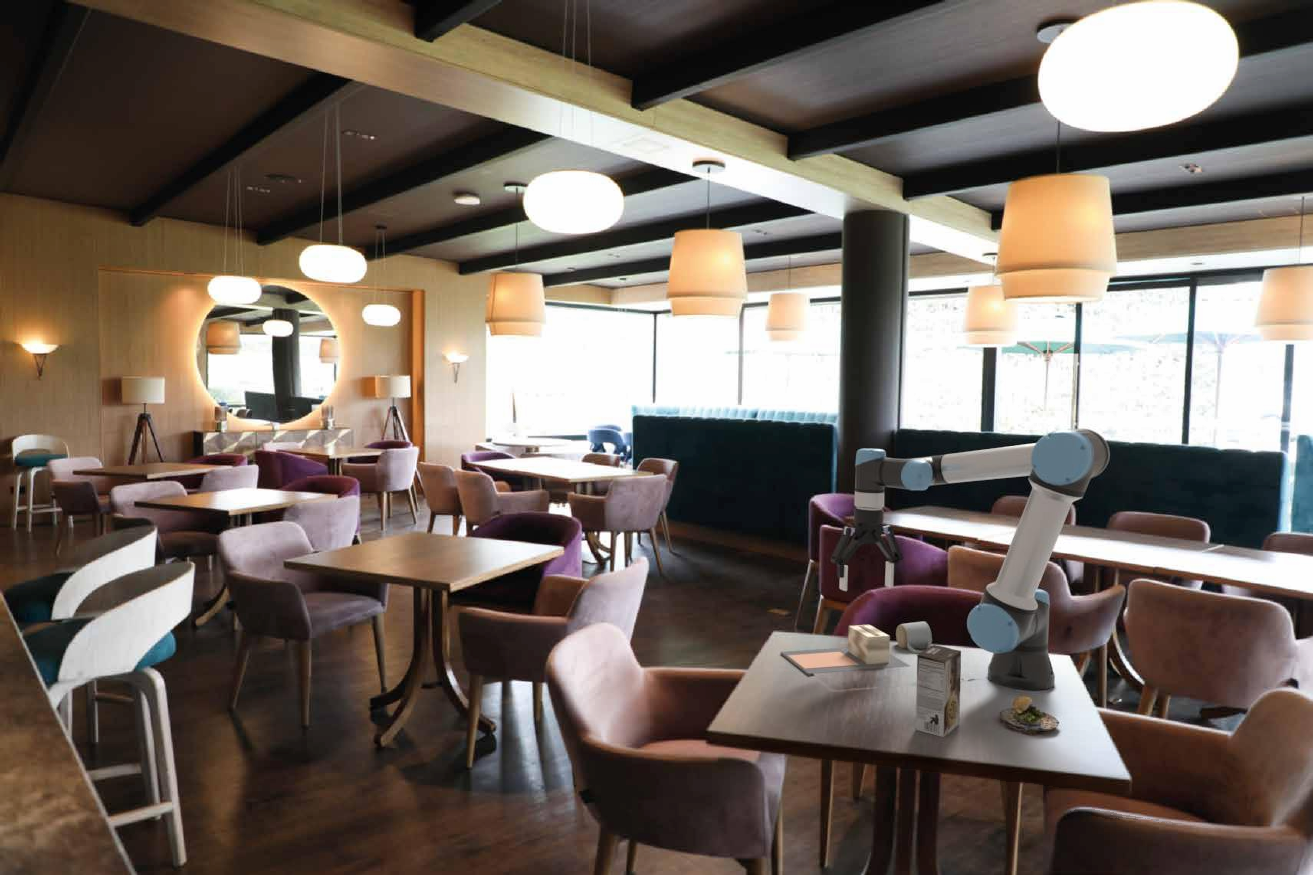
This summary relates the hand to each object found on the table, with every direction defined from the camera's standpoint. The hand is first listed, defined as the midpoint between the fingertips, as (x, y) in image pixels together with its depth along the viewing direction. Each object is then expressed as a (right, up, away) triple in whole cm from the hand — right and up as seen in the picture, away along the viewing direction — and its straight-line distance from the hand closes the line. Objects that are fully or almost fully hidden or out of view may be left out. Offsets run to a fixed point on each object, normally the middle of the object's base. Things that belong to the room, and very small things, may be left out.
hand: (866, 588), depth 223 cm
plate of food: (+24, -22, -42) cm, 53 cm away
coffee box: (+4, -22, -44) cm, 49 cm away
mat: (-6, -19, 0) cm, 20 cm away
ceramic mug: (+16, -19, +10) cm, 27 cm away
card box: (+1, -18, +2) cm, 18 cm away
